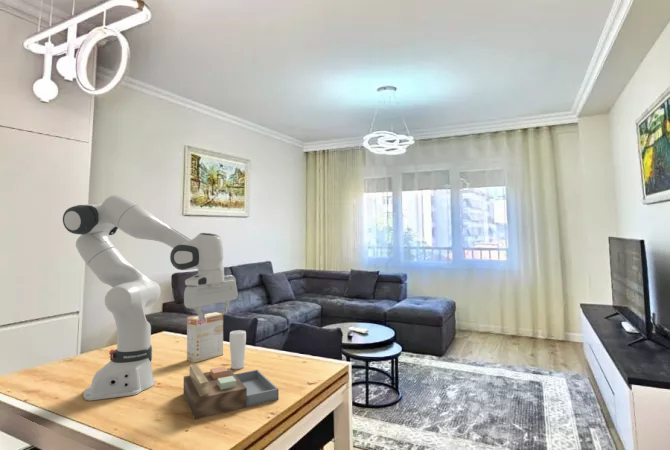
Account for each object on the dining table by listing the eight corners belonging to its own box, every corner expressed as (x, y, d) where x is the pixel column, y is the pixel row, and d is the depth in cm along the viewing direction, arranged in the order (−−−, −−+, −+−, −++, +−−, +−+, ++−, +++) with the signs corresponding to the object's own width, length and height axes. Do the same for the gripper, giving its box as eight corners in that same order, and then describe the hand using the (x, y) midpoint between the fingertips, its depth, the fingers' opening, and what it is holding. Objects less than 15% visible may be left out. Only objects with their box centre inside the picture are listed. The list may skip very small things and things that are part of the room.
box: (246, 407, 119) (246, 395, 119) (229, 384, 138) (229, 375, 138) (278, 399, 125) (278, 388, 125) (257, 378, 144) (257, 369, 144)
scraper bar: (200, 396, 113) (200, 383, 113) (189, 376, 130) (189, 364, 131) (208, 394, 114) (208, 381, 115) (196, 375, 132) (196, 363, 132)
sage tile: (220, 389, 118) (221, 383, 118) (217, 384, 123) (217, 378, 123) (236, 386, 121) (236, 380, 121) (232, 381, 125) (232, 375, 125)
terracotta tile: (213, 378, 128) (213, 373, 128) (210, 374, 132) (210, 368, 132) (227, 376, 130) (227, 370, 130) (224, 371, 135) (224, 366, 135)
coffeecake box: (215, 352, 179) (215, 311, 180) (223, 355, 175) (223, 313, 176) (186, 360, 168) (186, 316, 169) (194, 363, 163) (194, 318, 164)
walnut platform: (194, 419, 111) (194, 399, 111) (183, 393, 130) (183, 376, 130) (246, 407, 119) (246, 388, 120) (229, 384, 138) (229, 368, 139)
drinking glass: (236, 371, 152) (236, 334, 153) (226, 368, 156) (226, 332, 157) (249, 367, 158) (249, 331, 158) (239, 363, 162) (239, 329, 162)
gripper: (229, 274, 143) (231, 310, 142) (180, 281, 126) (182, 321, 126) (240, 274, 139) (242, 311, 138) (191, 281, 122) (192, 323, 122)
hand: (213, 316), depth 132 cm, fingers open, 8 cm apart
